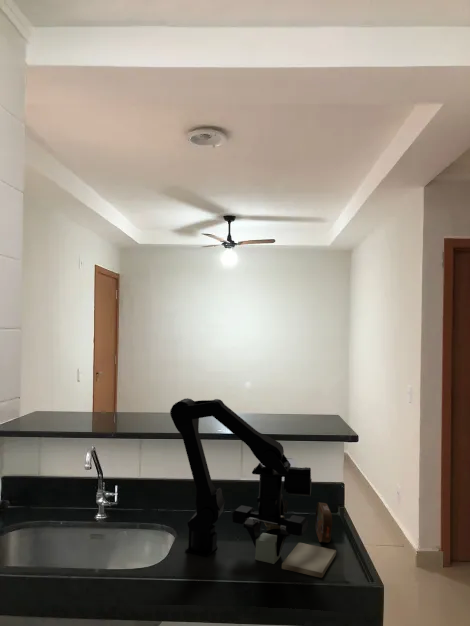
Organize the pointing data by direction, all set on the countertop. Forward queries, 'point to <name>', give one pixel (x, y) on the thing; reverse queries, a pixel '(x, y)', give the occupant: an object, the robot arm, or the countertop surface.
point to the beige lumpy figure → (272, 526)
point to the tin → (323, 522)
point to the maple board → (309, 559)
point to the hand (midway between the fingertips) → (268, 553)
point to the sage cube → (266, 548)
